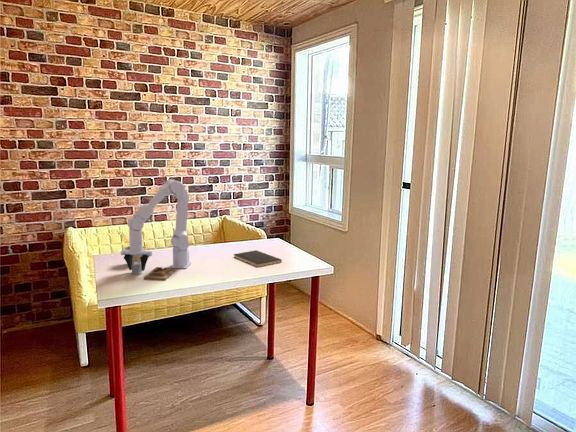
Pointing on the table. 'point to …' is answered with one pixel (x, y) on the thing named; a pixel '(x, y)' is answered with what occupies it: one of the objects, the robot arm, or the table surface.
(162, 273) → the chassis board
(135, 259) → the flower pot
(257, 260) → the hardcover book
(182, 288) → the table surface
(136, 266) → the servo block
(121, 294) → the table surface
